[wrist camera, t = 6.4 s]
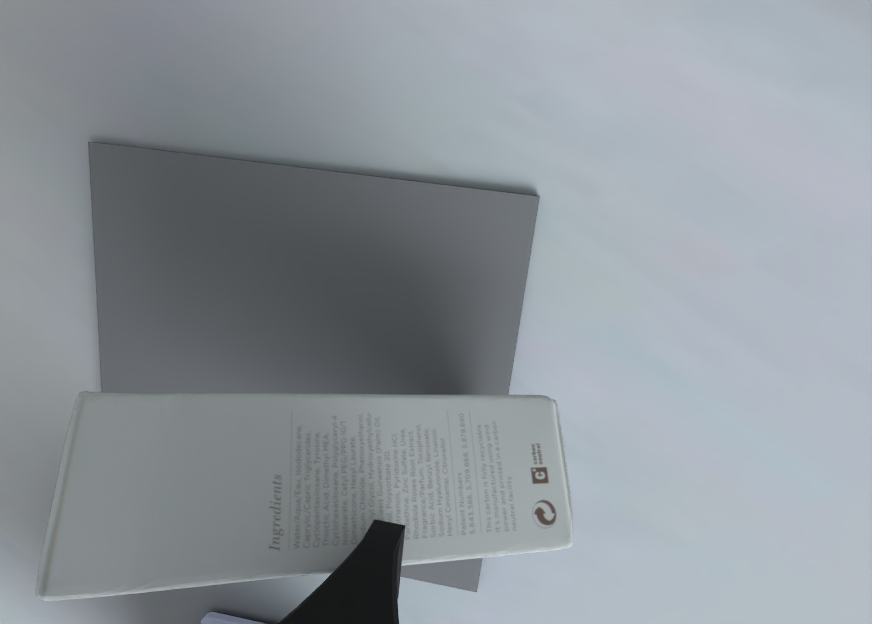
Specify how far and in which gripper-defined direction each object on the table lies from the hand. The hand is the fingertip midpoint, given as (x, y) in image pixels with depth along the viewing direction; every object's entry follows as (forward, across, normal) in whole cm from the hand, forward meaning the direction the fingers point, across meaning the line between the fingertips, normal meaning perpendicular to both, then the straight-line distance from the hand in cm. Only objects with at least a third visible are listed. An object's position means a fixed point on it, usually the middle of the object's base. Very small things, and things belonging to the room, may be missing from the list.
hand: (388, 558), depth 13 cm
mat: (+9, +6, 0) cm, 11 cm away
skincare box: (+6, -3, +1) cm, 6 cm away
